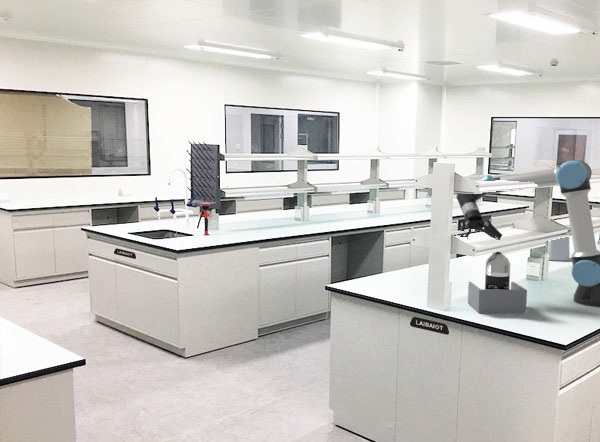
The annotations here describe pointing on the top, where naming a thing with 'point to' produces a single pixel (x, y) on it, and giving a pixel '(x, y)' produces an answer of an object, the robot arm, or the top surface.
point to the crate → (497, 299)
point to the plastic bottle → (559, 249)
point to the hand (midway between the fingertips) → (486, 251)
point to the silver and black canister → (497, 272)
